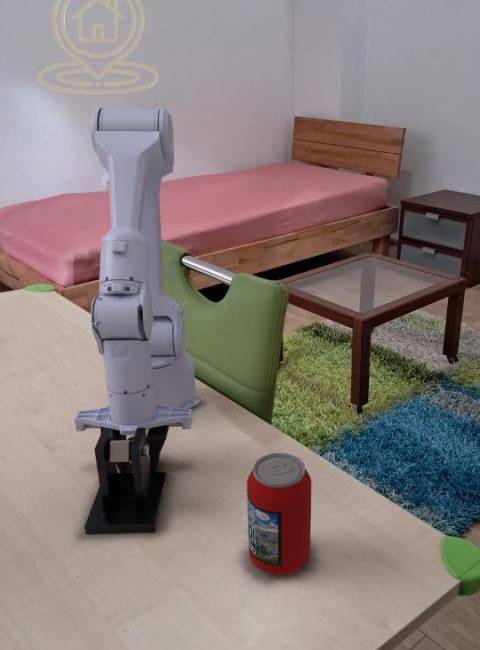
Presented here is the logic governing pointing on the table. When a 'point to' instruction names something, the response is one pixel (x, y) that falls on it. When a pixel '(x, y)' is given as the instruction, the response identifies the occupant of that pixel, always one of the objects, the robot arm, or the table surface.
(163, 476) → the bracket
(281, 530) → the beverage can
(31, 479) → the table surface
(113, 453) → the lever
